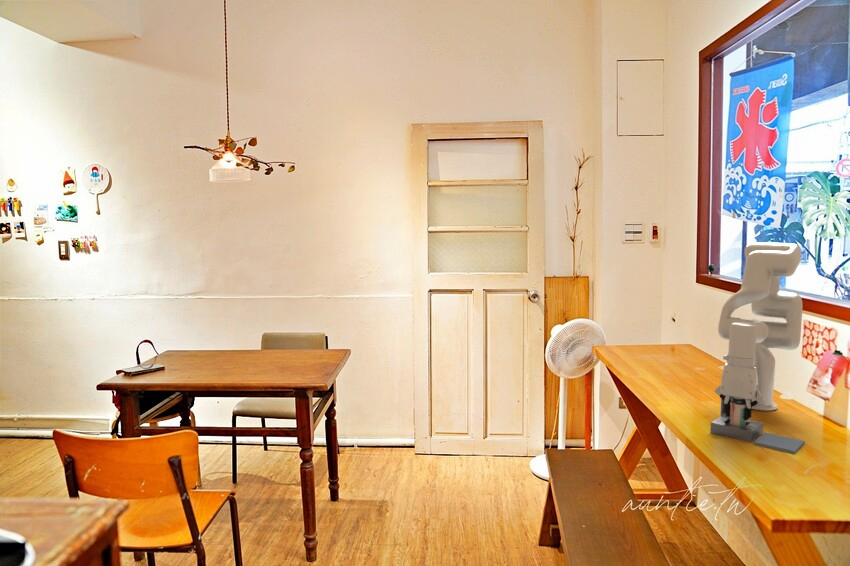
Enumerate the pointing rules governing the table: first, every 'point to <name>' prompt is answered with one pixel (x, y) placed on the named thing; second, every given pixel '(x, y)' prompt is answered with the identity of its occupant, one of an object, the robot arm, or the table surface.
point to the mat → (779, 442)
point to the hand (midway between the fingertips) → (737, 416)
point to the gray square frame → (736, 429)
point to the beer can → (737, 411)
